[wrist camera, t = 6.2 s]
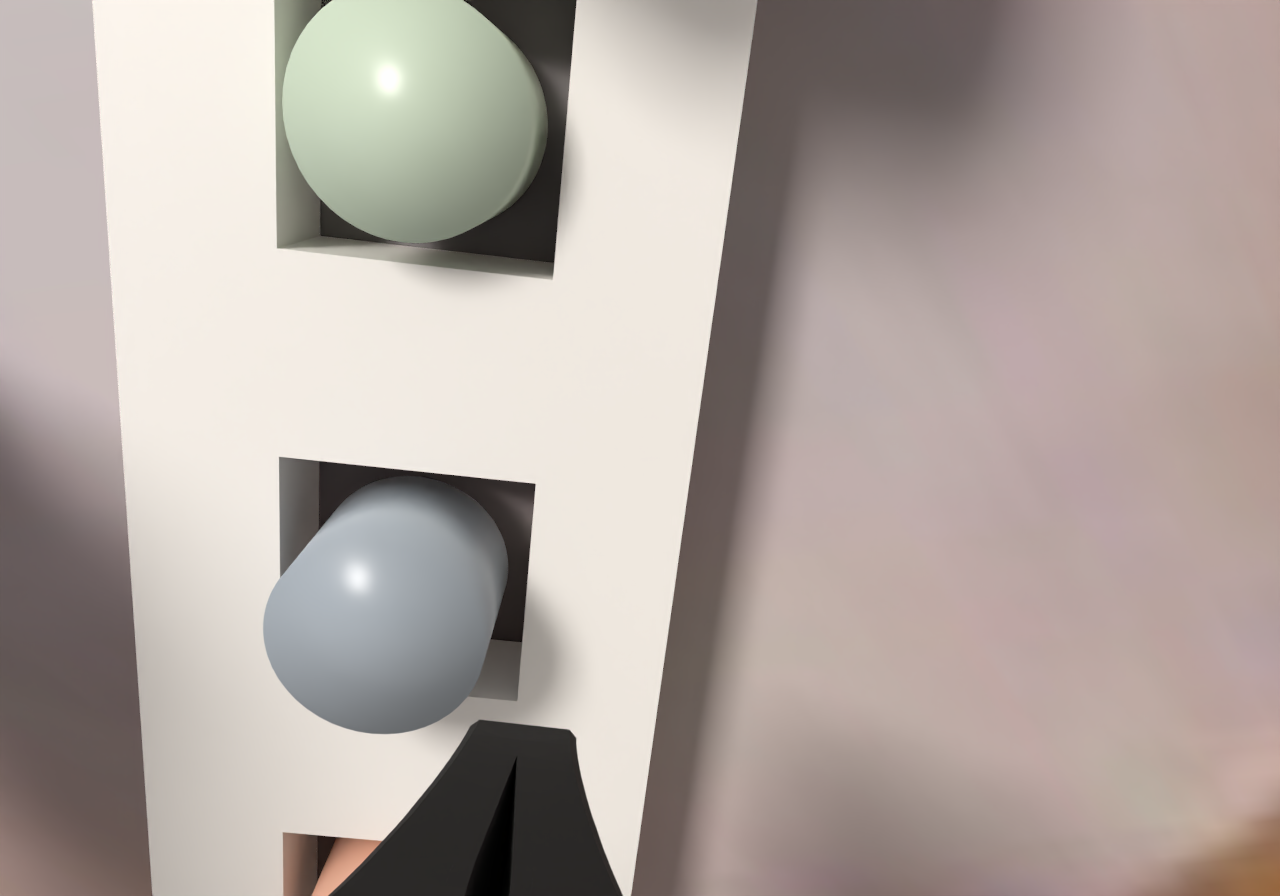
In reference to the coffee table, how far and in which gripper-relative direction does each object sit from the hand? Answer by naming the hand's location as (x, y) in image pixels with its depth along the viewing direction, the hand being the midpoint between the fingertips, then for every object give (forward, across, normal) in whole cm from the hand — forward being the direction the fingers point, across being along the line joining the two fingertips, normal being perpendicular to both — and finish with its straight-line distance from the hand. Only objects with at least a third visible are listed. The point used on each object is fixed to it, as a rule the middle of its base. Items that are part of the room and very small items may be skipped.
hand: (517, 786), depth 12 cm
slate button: (+8, +3, +1) cm, 8 cm away
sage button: (+9, +3, -8) cm, 12 cm away
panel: (+9, +3, +1) cm, 10 cm away
